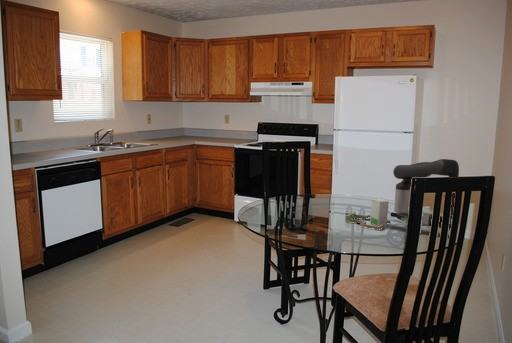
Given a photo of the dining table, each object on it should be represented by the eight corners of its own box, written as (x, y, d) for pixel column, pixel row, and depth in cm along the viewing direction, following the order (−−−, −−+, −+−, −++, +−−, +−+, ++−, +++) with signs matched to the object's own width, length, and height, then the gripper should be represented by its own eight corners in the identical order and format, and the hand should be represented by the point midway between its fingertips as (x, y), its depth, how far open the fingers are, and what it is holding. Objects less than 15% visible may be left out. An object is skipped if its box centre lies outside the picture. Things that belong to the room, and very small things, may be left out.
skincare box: (369, 223, 250) (371, 198, 248) (378, 222, 252) (380, 197, 250) (378, 227, 242) (379, 201, 240) (387, 226, 245) (389, 200, 243)
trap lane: (357, 216, 268) (357, 210, 267) (393, 222, 254) (393, 215, 254) (341, 223, 248) (342, 217, 248) (380, 230, 235) (380, 223, 234)
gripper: (424, 210, 237) (394, 206, 247) (418, 214, 227) (387, 210, 237) (423, 223, 238) (393, 218, 248) (417, 227, 228) (386, 222, 238)
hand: (390, 214), depth 242 cm, fingers closed
